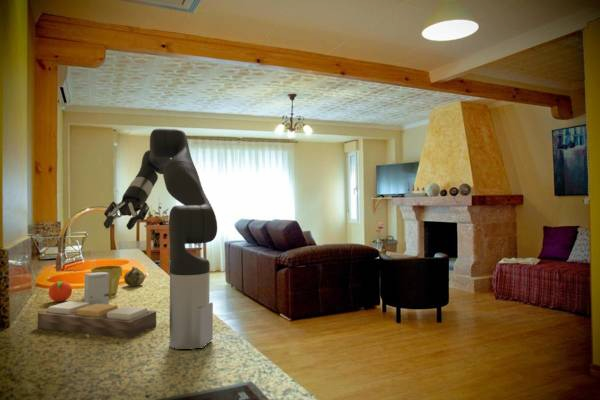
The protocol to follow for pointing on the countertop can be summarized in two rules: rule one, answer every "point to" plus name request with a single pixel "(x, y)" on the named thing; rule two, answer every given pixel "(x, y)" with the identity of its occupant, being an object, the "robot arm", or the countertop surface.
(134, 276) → the onion
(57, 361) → the countertop surface
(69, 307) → the key outer
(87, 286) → the skincare box
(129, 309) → the key inner
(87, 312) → the key amber
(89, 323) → the keypad
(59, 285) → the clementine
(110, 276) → the plant pot
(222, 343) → the countertop surface
